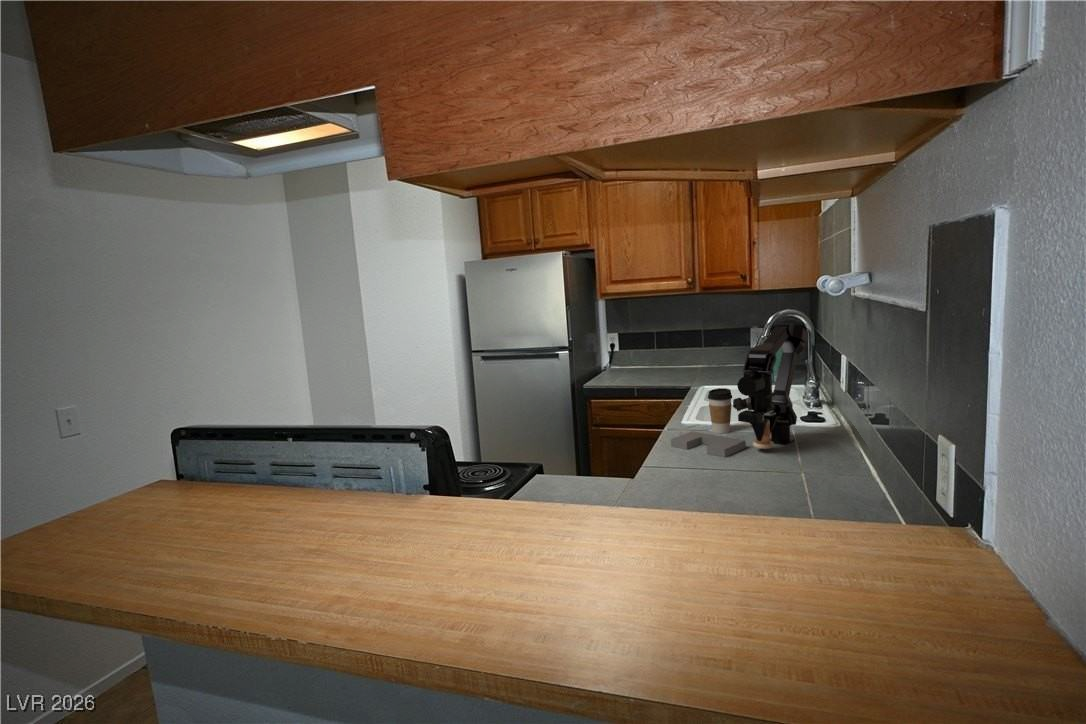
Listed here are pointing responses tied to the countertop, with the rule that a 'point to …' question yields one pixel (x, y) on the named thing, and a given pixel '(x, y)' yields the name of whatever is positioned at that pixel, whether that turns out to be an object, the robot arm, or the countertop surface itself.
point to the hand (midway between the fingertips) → (763, 439)
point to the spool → (764, 438)
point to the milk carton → (776, 365)
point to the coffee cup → (720, 409)
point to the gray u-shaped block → (709, 443)
